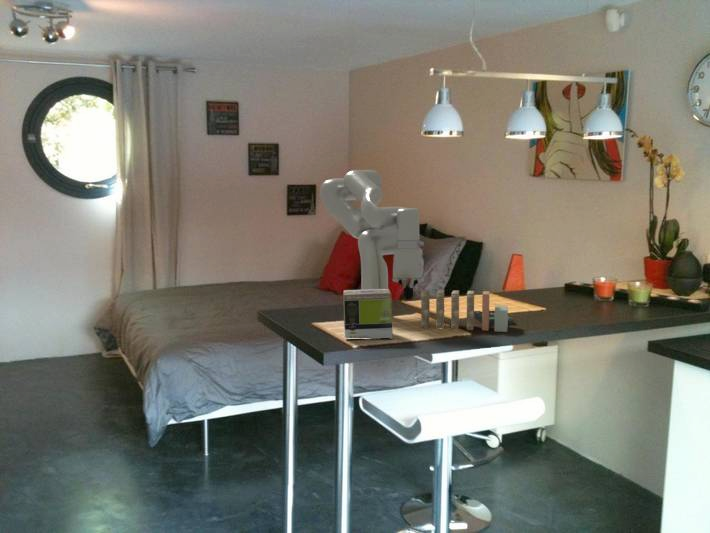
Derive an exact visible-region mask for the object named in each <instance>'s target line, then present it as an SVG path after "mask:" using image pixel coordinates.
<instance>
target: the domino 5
mask: <svg viewBox="0 0 710 533" xmlns="http://www.w3.org/2000/svg"><path fill="white" fill-rule="evenodd" d="M481 297H482V300H481V301H482V302H481V303H482V306H481V308H482V309H481V310H482V311H481V312H482V323H481V331H489V329H490V325H489V311H490V290H489V291H488V290H487V291H486V290H483V291H482V296H481Z"/></svg>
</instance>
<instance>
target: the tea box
mask: <svg viewBox="0 0 710 533" xmlns="http://www.w3.org/2000/svg"><path fill="white" fill-rule="evenodd" d="M342 292H343V297H342V298H343V324H344V325H343V327H344V337H345V338H390V339H391V340H392V339H393V337H394V336H393V334H394V333H393V316H392V314H393V304H392V303H393V300H392V293H391V291H390V288H388V289H365V290H362V289H344V290H343V291H342Z"/></svg>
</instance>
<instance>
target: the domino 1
mask: <svg viewBox="0 0 710 533" xmlns="http://www.w3.org/2000/svg"><path fill="white" fill-rule="evenodd" d="M430 295H431V294H430V289H423V290H422V291H421V292H420V304H421V306H420V307H421V308H420V311H421V312H420V313H421V314H420V316H421V318H420V319H421V321H420V322H421V323H420V328H421V329H428V328H429V326H430V324H431V322H430V319H431V318H430V314H431V313H430V304H431V302H430V298H431V297H430Z"/></svg>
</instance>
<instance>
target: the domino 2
mask: <svg viewBox="0 0 710 533" xmlns="http://www.w3.org/2000/svg"><path fill="white" fill-rule="evenodd" d="M435 294H436V295H435V303H436V304H435V305H436V306H435V310H436V312H435V319H436V320H435V321H436V322H435V323H436V324H435V326H436V328H444V327H445V290H444V289H438V290H437V291H436V293H435ZM443 326H444V327H443Z"/></svg>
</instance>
